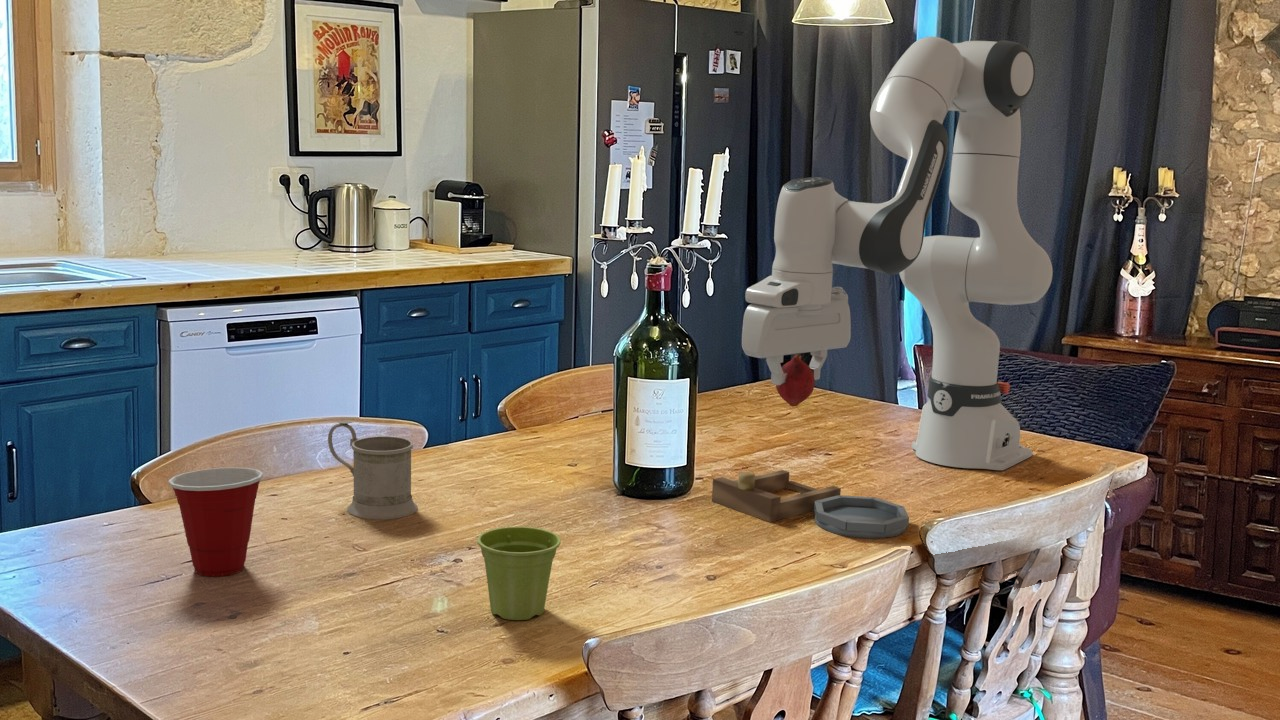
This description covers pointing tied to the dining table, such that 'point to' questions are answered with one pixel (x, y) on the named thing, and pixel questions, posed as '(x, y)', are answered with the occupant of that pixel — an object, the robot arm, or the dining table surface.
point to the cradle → (767, 495)
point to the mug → (379, 475)
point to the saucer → (860, 516)
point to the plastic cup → (217, 516)
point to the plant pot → (518, 569)
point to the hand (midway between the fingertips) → (795, 381)
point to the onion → (796, 381)
